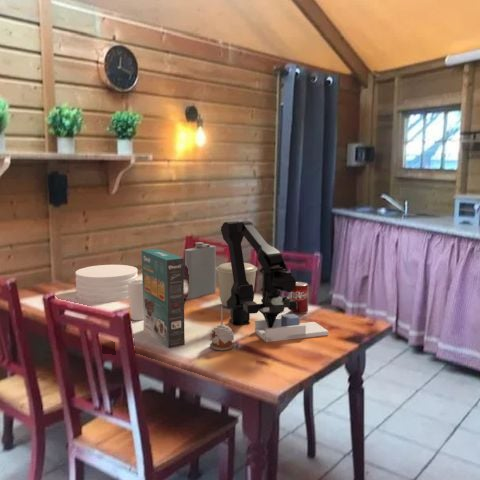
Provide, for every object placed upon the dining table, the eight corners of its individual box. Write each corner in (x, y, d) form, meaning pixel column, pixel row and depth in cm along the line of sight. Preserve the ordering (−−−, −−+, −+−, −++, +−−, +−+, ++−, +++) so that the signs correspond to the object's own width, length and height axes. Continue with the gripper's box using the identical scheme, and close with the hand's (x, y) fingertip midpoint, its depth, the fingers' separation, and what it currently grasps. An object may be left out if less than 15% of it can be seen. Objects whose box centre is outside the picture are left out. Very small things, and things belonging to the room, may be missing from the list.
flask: (210, 291, 247) (210, 239, 243) (217, 292, 244) (216, 240, 240) (182, 298, 235) (181, 244, 231) (189, 299, 232) (188, 245, 228)
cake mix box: (184, 344, 175) (183, 258, 170) (168, 348, 172) (166, 260, 167) (158, 327, 193) (157, 248, 189) (143, 330, 190) (141, 250, 186)
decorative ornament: (210, 343, 176) (209, 301, 174) (232, 343, 177) (232, 300, 175) (210, 352, 169) (210, 307, 166) (234, 351, 169) (234, 307, 167)
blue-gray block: (286, 332, 183) (286, 318, 183) (281, 328, 188) (281, 314, 187) (299, 331, 185) (299, 317, 184) (293, 326, 190) (293, 313, 189)
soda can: (307, 314, 209) (307, 286, 208) (289, 313, 211) (290, 285, 209) (308, 309, 217) (309, 282, 215) (291, 308, 218) (291, 281, 216)
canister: (234, 314, 210) (234, 263, 207) (207, 304, 224) (206, 257, 221) (265, 306, 222) (266, 258, 219) (238, 297, 236) (238, 252, 232)
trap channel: (266, 342, 178) (266, 329, 177) (254, 331, 189) (255, 319, 188) (328, 335, 185) (328, 323, 185) (314, 325, 196) (314, 314, 195)
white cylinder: (150, 317, 205) (149, 281, 203) (140, 322, 199) (139, 284, 197) (136, 315, 208) (135, 279, 205) (125, 320, 202) (124, 282, 199)
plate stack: (150, 292, 245) (150, 268, 244) (106, 306, 222) (105, 280, 220) (109, 284, 260) (108, 262, 258) (63, 296, 237) (62, 272, 235)
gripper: (253, 294, 171) (252, 339, 174) (304, 289, 177) (303, 333, 179) (242, 286, 182) (242, 328, 184) (291, 282, 187) (290, 323, 190)
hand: (270, 328), depth 184 cm, fingers closed
